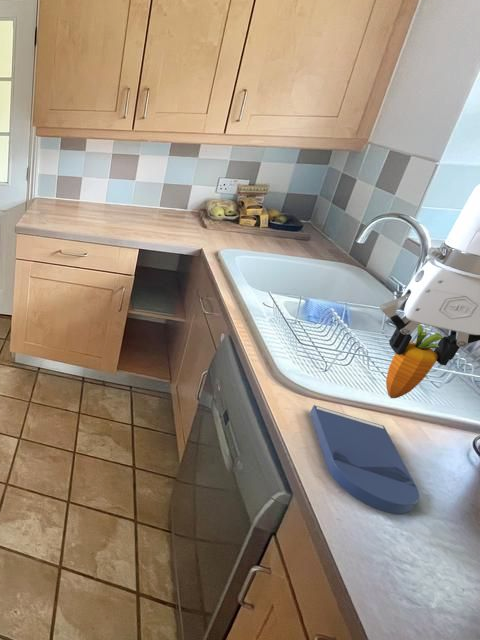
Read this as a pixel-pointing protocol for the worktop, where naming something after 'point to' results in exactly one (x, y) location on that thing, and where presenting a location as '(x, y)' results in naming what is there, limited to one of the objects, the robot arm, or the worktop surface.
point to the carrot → (411, 365)
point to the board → (364, 461)
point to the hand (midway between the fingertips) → (417, 354)
